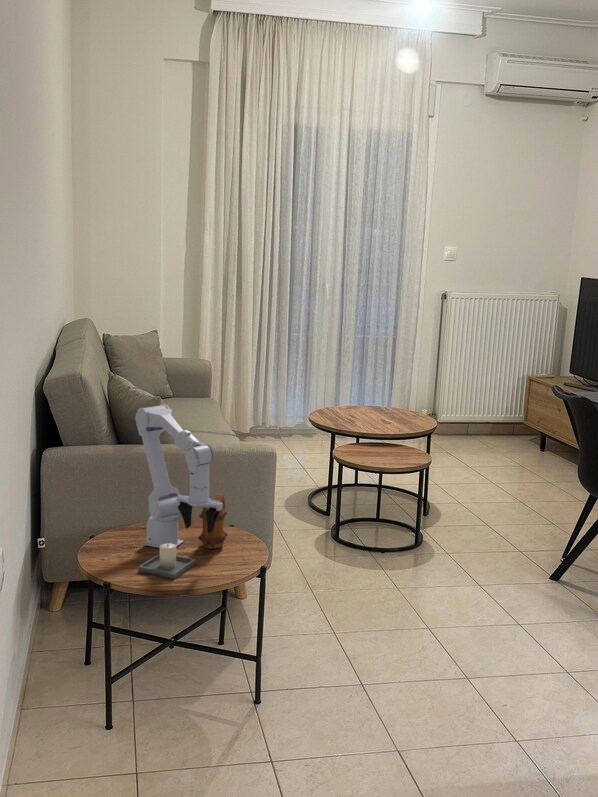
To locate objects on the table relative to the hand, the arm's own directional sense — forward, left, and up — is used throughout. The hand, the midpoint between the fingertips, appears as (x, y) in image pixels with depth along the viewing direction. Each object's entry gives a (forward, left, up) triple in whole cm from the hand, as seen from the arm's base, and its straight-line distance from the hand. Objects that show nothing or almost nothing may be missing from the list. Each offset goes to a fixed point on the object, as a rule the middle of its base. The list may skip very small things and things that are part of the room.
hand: (199, 529), depth 239 cm
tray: (-6, -8, -10) cm, 14 cm away
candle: (-6, -8, -10) cm, 14 cm away
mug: (-3, +15, -11) cm, 19 cm away
